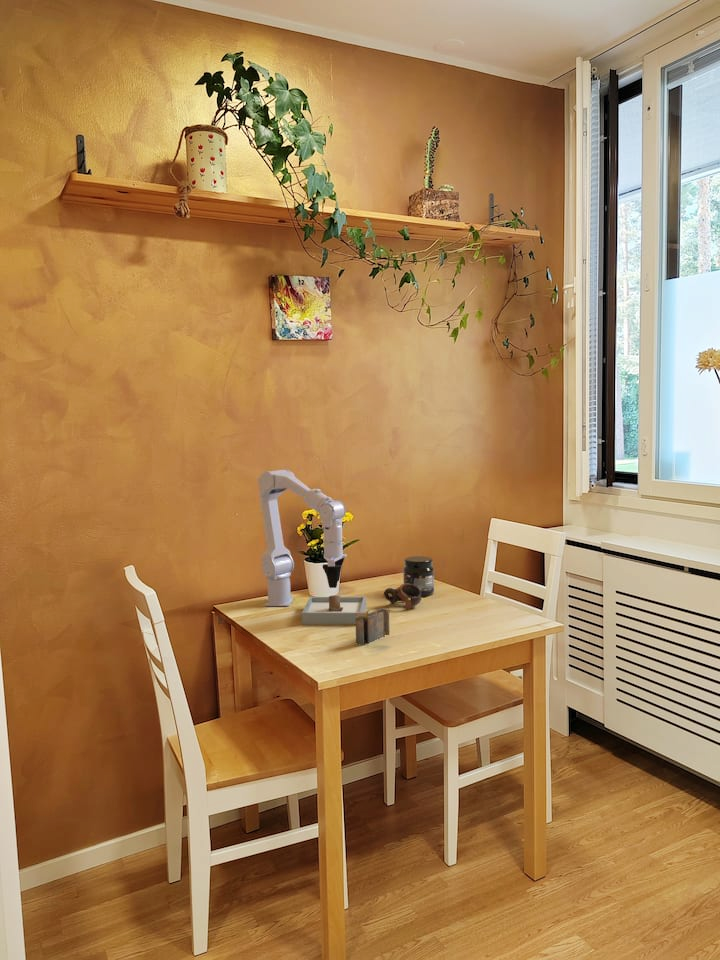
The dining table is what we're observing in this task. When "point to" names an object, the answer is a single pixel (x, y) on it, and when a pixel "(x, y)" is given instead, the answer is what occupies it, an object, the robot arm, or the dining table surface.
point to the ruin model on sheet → (372, 625)
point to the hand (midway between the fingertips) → (334, 584)
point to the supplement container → (419, 575)
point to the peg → (334, 603)
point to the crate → (320, 615)
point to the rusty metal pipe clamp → (403, 595)
